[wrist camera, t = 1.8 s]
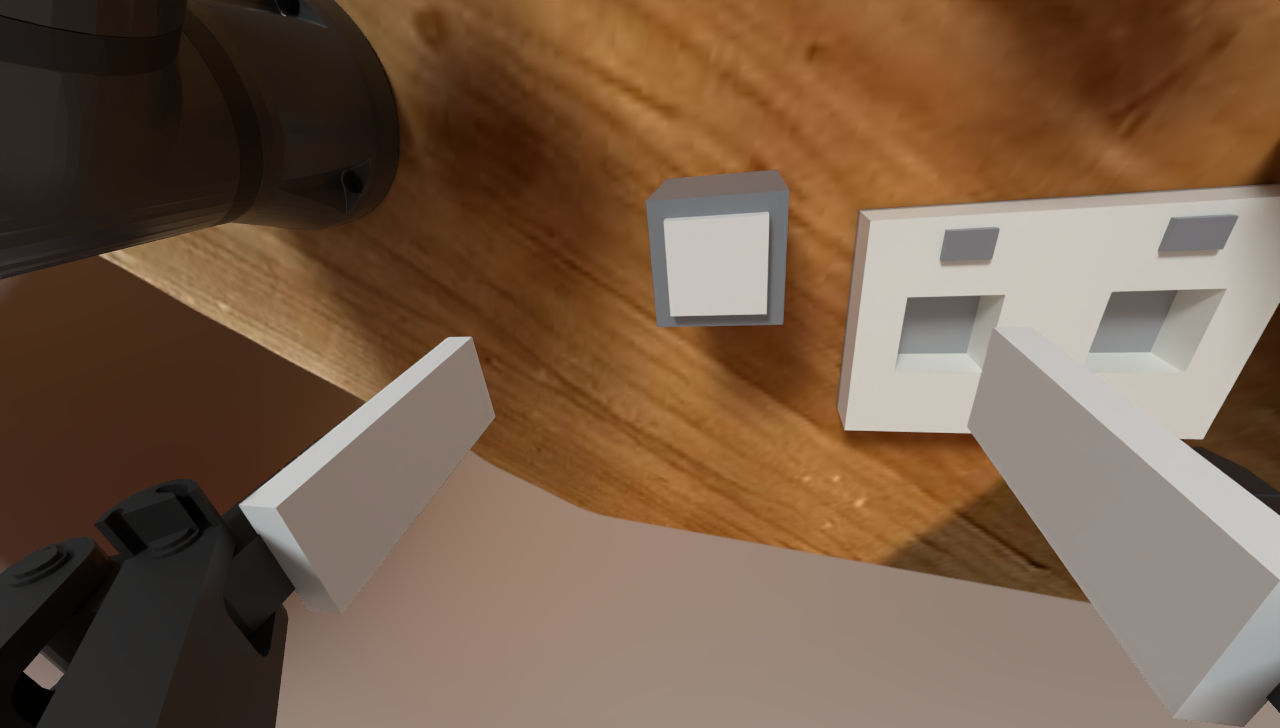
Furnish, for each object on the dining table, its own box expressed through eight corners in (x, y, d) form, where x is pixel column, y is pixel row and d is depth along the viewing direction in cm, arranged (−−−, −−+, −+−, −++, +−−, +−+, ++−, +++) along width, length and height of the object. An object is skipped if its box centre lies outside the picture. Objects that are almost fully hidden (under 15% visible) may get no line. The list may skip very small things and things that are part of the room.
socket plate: (836, 406, 35) (845, 433, 32) (858, 210, 28) (872, 222, 25) (1163, 411, 31) (1208, 443, 28) (1277, 183, 24) (1350, 194, 21)
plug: (678, 266, 32) (655, 332, 23) (673, 172, 29) (643, 203, 20) (770, 262, 31) (784, 329, 22) (773, 163, 28) (790, 192, 19)
